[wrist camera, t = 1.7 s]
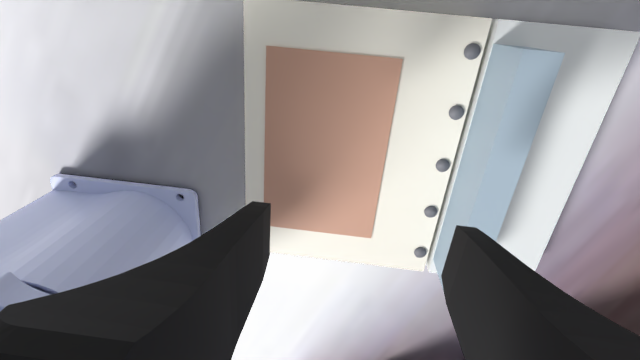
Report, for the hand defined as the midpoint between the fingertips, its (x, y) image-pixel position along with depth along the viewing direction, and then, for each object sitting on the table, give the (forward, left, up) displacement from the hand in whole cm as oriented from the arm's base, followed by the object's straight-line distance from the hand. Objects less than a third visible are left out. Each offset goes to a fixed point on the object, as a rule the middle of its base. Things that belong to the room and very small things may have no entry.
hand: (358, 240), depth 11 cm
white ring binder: (-1, 0, -9) cm, 9 cm away
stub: (+8, 0, -9) cm, 13 cm away
